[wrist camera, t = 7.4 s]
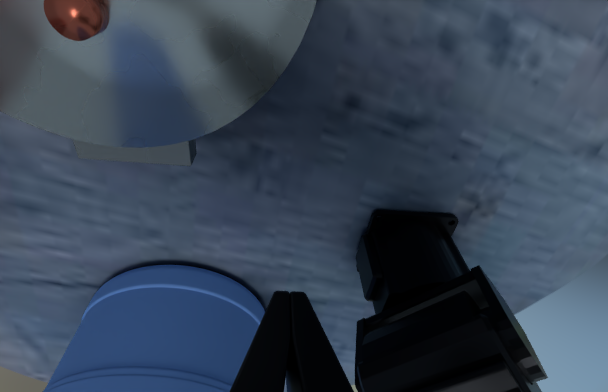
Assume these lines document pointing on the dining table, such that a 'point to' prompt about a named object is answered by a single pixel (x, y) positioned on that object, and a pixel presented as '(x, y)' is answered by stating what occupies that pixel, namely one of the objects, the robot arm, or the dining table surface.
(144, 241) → the dining table surface
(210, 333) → the water jug
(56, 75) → the cooker lid
